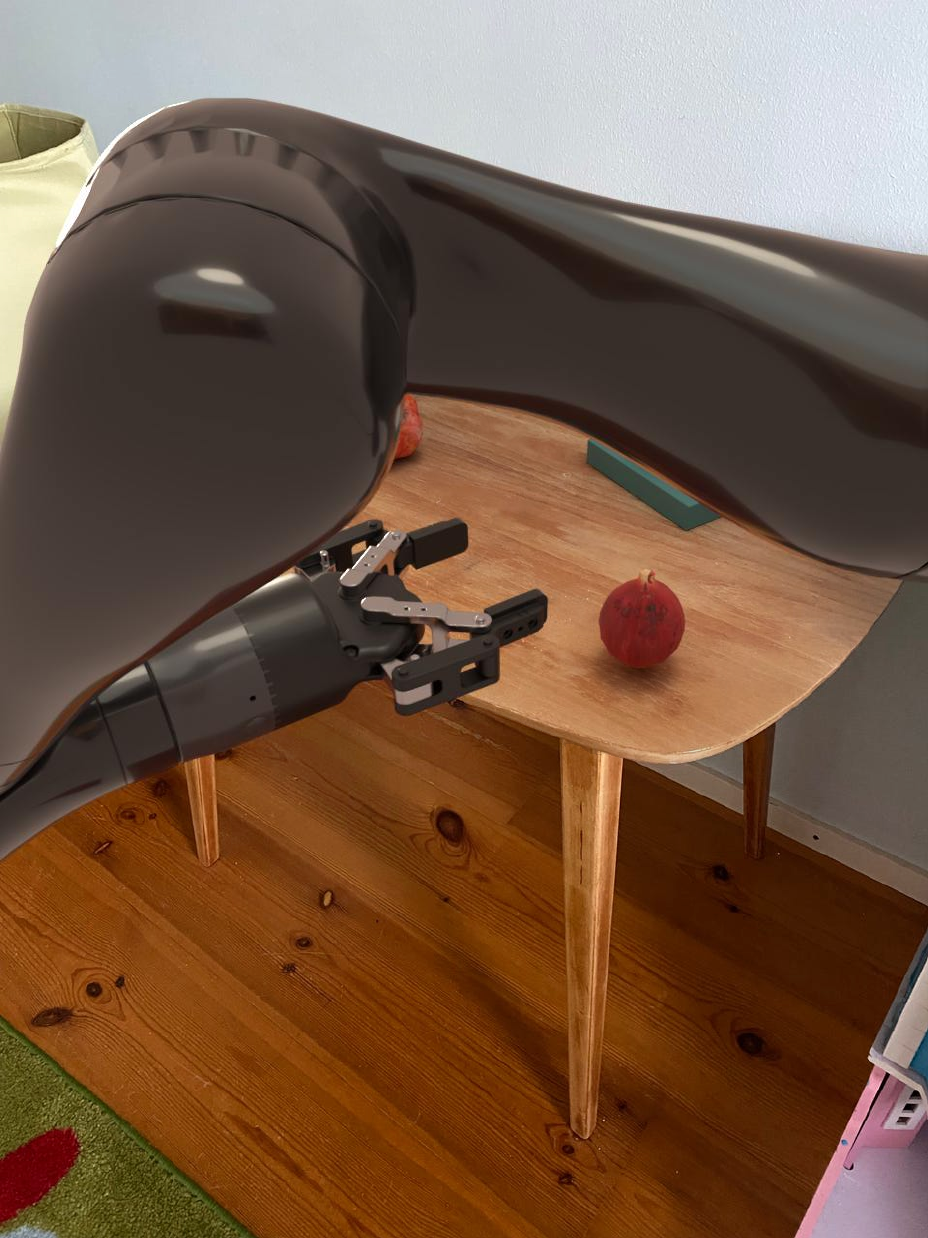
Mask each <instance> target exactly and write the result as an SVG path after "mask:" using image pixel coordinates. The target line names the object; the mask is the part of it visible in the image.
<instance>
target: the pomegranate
mask: <svg viewBox="0 0 928 1238" xmlns="http://www.w3.org/2000/svg"><path fill="white" fill-rule="evenodd" d="M423 422H424V421H423V419H422V418H421V416H420V414H419V406H418V402H417V401H416V399H415V397H414V395H411V394H406V399H405V409H404V415H403V421H402V426H401V431H400V437H399V441H398V446H397V450H396V454H395V457H394V460H395V459H402V458H406V457H409V456H410V455H412V454H413V453H414V452H415V451H416V448H418V446H419V445H420V444H421V442H422V440H423V436H424V428H423V427H424V425H423V424H424V423H423Z"/></svg>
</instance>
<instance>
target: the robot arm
mask: <svg viewBox="0 0 928 1238" xmlns="http://www.w3.org/2000/svg"><path fill="white" fill-rule="evenodd" d="M89 173H90V174H89V175H88V177H87V179H86V182H85V183H84V185H83V187H82V189H81V191H80V193H79V195H78V197H77V198H76V200H75V201H74V204H73V206H72V209H71V211H70V213H69V214H68V215H69V216H67V219H66V221H65V223H64V225H63V228H62V229H61V232H60V234H59V236H58V239H57V241H56V243H55V245H54V247H53V249H52V251H51V252H50V253H51V254H50V256H49V257H48V260H47V262H46V264H45V267H44V268H43V270H42V272H41V275H40V277H39V279H38V282H37V284H36V287H35V290H34V292H33V295H32V297H31V300H30V304H29V307H28V309H27V312H26V316H25V320H24V326H23V335H22V347H21V352H20V353H21V354H20V357H19V358H20V359H19V365H18V371H17V376H16V380H15V386H14V390H13V394H12V398H11V402H10V406H9V411H8V415H7V419H6V423H5V427H4V431H3V435H2V441H1V445H0V865H1V864H3V863H4V862H5V861H6V860H8V859H9V858H10V857H12V856H13V855H15V854H16V853H17V852H18V851H20V850H21V849H22V848H24V847H25V846H27V845H28V844H30V842H32V841H33V840H35V839H36V838H37V837H39V836H40V835H42V834H43V833H45V832H46V831H48V830H50V829H51V828H52V827H54V826H55V825H57V824H58V823H60V822H61V821H63V820H65V819H66V818H68V817H70V816H72V815H73V814H74V813H76V812H78V811H80V810H81V809H83V808H84V807H86V806H88V805H90V804H91V803H93V802H95V801H97V800H99V799H101V798H103V797H106V796H107V795H110V794H112V793H114V792H116V791H120V790H122V789H124V788H126V787H127V786H131V785H134V784H136V783H139V782H141V781H143V780H146V779H148V778H150V777H153V776H156V775H158V774H160V773H163V772H165V771H168V770H170V769H173V768H175V767H177V766H179V764H185V763H189V762H190V761H193V760H194V761H195V760H197V759H201V758H205V757H209V756H213V755H216V754H219V753H223V752H226V751H229V750H231V749H234V748H237V747H239V746H241V745H244V744H246V743H248V742H251V741H253V740H256V739H258V738H260V737H262V736H265V735H268V734H271V733H273V732H275V731H278V730H280V729H283V728H285V727H287V726H290V725H292V724H295V723H297V722H300V721H302V720H304V719H307V718H310V717H312V716H314V715H316V714H319V713H321V712H324V711H326V710H329V709H331V708H333V707H336V706H338V705H340V704H342V703H343V702H344V701H345V700H346V699H347V697H348V696H349V694H350V693H351V692H352V691H353V689H354V688H355V687H357V686H358V685H360V684H361V683H362V684H363V683H365V682H371V681H383V682H384V683H385V684H386V686H387V687H388V689H389V690H390V692H391V693H392V695H393V704H394V711H395V713H396V714H398V715H400V716H403V717H409V716H413V715H415V714H418V713H421V712H423V711H426V710H428V709H431V708H434V707H436V706H440V705H442V704H444V703H448V702H449V701H453V700H455V699H458V698H460V697H461V698H462V697H463V696H466V695H469V694H471V693H474V692H476V691H480V690H482V689H485V688H487V687H490V686H492V685H495V684H497V683H498V682H499V681H500V679H501V670H500V669H501V653H500V652H501V651H500V650H501V648H503V647H505V646H508V645H510V644H512V643H514V642H518V641H520V640H522V639H524V638H526V637H527V638H528V637H529V636H532V635H534V634H536V633H539V632H540V631H541V630H542V629H543V628H544V625H545V624H546V623H547V620H548V610H549V609H548V608H549V598H548V596H547V595H546V594H545V593H544V592H542V590H541V589H539V588H533V589H530V590H528V591H526V592H525V591H524V592H522V593H520V594H518V595H515V596H512V597H510V598H508V599H504V600H503V601H500V602H497V603H495V604H492V605H490V606H487V607H484V608H483V612H482V611H481V612H480V611H462V610H461V611H460V610H459V611H458V610H457V611H456V610H451V609H449V607H448V606H447V605H446V604H444V603H441V602H425V601H423V600H422V599H421V598H420V597H419V596H418V595H417V594H415V593H413V592H412V591H410V590H409V589H407V588H406V585H405V583H404V581H403V580H402V579H403V578H404V576H405V575H406V574H407V572H409V569H410V567H409V566H412V568H413V569H414V570H415V571H417V570H420V569H422V568H423V569H424V568H425V567H426V568H427V567H429V566H431V565H434V564H436V563H439V562H442V561H445V560H447V559H450V558H452V557H456V556H458V555H461V554H463V553H464V552H466V551H467V550H468V548H469V527H468V526H469V525H468V524H467V523H466V522H465V521H463V519H461V518H460V517H454V518H451V519H448V520H441V521H438V522H434V523H433V524H429V525H427V526H424V527H420V528H418V529H415V530H412V531H409V532H407V533H406V532H405V531H403V530H401V529H393V530H390V531H389V530H387V529H385V528H384V522H383V521H382V520H380V519H377V518H374V519H373V518H372V519H368V520H365V521H363V522H360V523H357V524H355V525H351V526H350V527H347V526H349V525H350V523H352V522H353V521H354V520H355V519H356V518H357V517H358V516H359V515H360V514H361V513H362V512H363V511H364V510H365V509H366V508H367V507H368V505H369V504H370V503H371V502H372V500H373V499H374V497H375V496H376V495H377V493H378V491H379V489H380V488H381V486H382V485H383V482H384V481H385V479H386V477H387V475H388V474H389V472H390V470H391V468H392V465H393V463H394V460H395V459H394V457H395V454H396V450H397V446H398V441H399V437H400V431H401V426H402V421H403V415H404V409H405V399H406V394H411V395H413V396H420V397H429V398H435V399H442V400H448V401H454V402H459V403H465V404H472V405H476V406H477V405H478V406H484V407H488V408H489V407H490V408H495V409H500V410H504V411H509V412H513V413H517V414H522V415H526V416H528V417H529V416H530V417H533V418H536V419H539V420H542V421H545V422H549V423H552V424H554V425H557V426H560V427H564V428H565V429H568V430H571V431H573V432H576V433H577V434H580V435H581V436H584V437H585V438H588V439H592V440H594V441H597V442H598V443H600V444H602V445H604V446H605V447H607V448H609V449H610V450H612V451H614V452H616V453H617V454H619V455H621V456H623V457H624V458H626V459H628V460H630V461H631V462H633V463H635V464H636V465H638V466H640V467H641V468H643V469H644V470H646V471H648V472H649V473H651V474H653V475H654V476H656V477H657V478H659V479H661V480H662V481H664V482H666V483H667V484H669V485H670V486H672V487H674V488H675V489H677V490H679V491H680V492H682V493H684V494H685V495H687V496H689V497H690V498H692V499H694V500H695V501H697V502H699V503H700V504H702V505H703V506H705V507H707V508H708V509H710V510H711V511H713V512H715V513H716V514H718V515H720V516H721V517H720V518H723V519H724V520H726V521H728V522H729V523H731V524H733V525H735V526H737V527H739V528H740V529H742V530H744V531H746V532H747V533H749V534H750V535H753V536H755V537H756V538H758V539H760V540H762V541H764V542H766V543H768V544H770V545H772V546H774V547H776V548H778V549H780V550H783V551H784V552H787V553H789V554H792V555H794V556H797V557H799V558H802V559H804V560H807V561H810V562H813V563H815V564H819V565H822V566H825V567H827V568H831V569H835V570H837V571H838V570H839V571H842V572H846V573H852V574H857V575H861V576H862V575H863V576H867V577H874V578H881V579H891V580H898V581H905V582H914V583H921V584H928V254H919V253H912V252H906V251H905V252H904V251H897V250H892V249H886V248H880V247H875V246H874V247H873V246H869V245H865V244H864V245H863V244H859V243H853V242H848V241H843V240H837V239H832V238H827V237H822V236H817V235H811V234H808V233H807V234H806V233H802V232H796V231H793V230H792V231H791V230H786V229H782V228H777V227H773V226H767V225H763V224H762V225H761V224H756V223H752V222H745V221H739V220H734V219H729V218H725V217H717V216H712V215H706V214H701V213H700V214H699V213H694V212H688V211H681V210H674V209H669V208H661V207H657V206H651V205H647V204H641V203H635V202H631V201H625V200H621V199H618V198H612V197H608V196H605V195H601V194H596V193H593V192H592V193H591V192H588V191H583V190H579V189H576V188H572V187H569V186H566V185H561V184H557V183H555V182H551V181H547V180H545V179H540V178H537V177H533V176H530V175H528V174H523V173H521V172H517V171H514V170H511V169H507V168H503V167H501V166H498V165H494V164H491V163H488V162H484V161H481V160H478V159H474V158H471V157H468V156H464V155H461V154H458V153H455V152H451V151H448V150H444V149H442V148H438V147H435V146H431V145H429V144H426V143H423V142H418V141H415V140H412V139H409V138H406V137H403V136H400V135H397V134H393V133H390V132H387V131H384V130H380V129H377V128H373V127H371V126H367V125H364V124H361V123H357V122H353V121H350V120H347V119H343V118H340V117H338V116H337V117H336V116H333V115H330V114H327V113H323V112H319V111H316V110H311V109H308V108H304V107H299V106H295V105H291V104H287V103H281V102H277V101H271V100H266V99H259V98H258V99H257V98H249V97H203V98H199V99H198V98H197V99H193V100H189V101H185V102H180V103H177V104H172V105H169V106H165V107H163V108H161V109H159V110H157V111H155V112H153V113H151V114H148V115H147V116H145V117H142V118H141V119H139V120H137V121H136V122H134V123H133V124H131V125H130V126H129V127H127V128H126V129H125V130H124V131H123V132H122V133H120V134H119V135H117V136H116V138H115V139H114V140H113V141H112V142H111V143H110V145H108V147H107V148H106V149H105V150H104V152H103V153H102V154H101V156H99V158H98V160H97V161H96V163H95V164H94V166H93V168H92V170H91V172H89ZM346 527H347V528H346ZM363 542H364V543H365V549H361V550H360V551H358V552H357V551H356V552H354V553H353V551H352V550H353V547H354V546H357V545H359V544H360V543H363ZM292 568H293V571H294V572H289V573H288V571H289V570H291V569H292ZM426 626H427V627H429V628H430V631H431V640H432V641H431V642H432V643H421V641H422V640H423V638H424V636H425V633H426ZM450 633H461V634H463V633H465V634H469V635H468V636H469V639H460V638H459V639H456V638H452V637H451V636H450ZM473 664H474V667H471V668H469V669H466V670H463V668H465V667H466V666H469V665H473ZM462 670H463V671H462Z"/></svg>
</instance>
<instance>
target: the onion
mask: <svg viewBox="0 0 928 1238" xmlns="http://www.w3.org/2000/svg"><path fill="white" fill-rule="evenodd" d="M655 576H656V572H655V571H654V570H652V569H651V568H648V567H645V568H644V569H643V570H640V571H639V572H638V576H637V578H634V579H630V580H627V581H625V582H624V583H621V584H620V585H619V586H616V587H615V588H614V589H613V590H612V591H611V592H610V593H609V594H608V595H607V598H606V599H605V601H604V602H603V605H602V607H601V609H600V611H599V616H598V625H599V634H600V640H601V641H602V643H603V645H604V647H605V648H606V650H607V651H608V653H609V654H610V656H612V657H613V658H615V659H616V660H617V661H619V662H620V663H622V664H623V665H625V666H628V667H632V668H639V669H641V668H642V669H643V668H645V669H647V668H650V667H652V666H656V665H658V664H662V663H664V662H665V661H666V660H667V659H668V658H669V657H670V656H671V655H672V654H673V653H674V652H675V651H677V649H679V647H680V644H681V642H682V639H683V637H684V633H685V631H686V617H685V616H686V615H685V612H684V610H683V609H684V608H683V606H682V603H681V601H680V599H679V597H678V596H677V595H676V593H675V592H674V591H673V590H672V589H671V588H670V586H669V585H667V584H665V583H664V582H662V581H660V580H658V579H656V578H655Z"/></svg>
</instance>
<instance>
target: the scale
mask: <svg viewBox="0 0 928 1238" xmlns="http://www.w3.org/2000/svg"><path fill="white" fill-rule="evenodd" d="M586 443H587V444H586V463H587V464H588V465H590V466H591V467H593V468H594V469H596V470H597V471H599V472H600V473H601V474H603V475H604V476H606V477H607V478H609V479H610V480H612V481H613V482H614V483H616V484H617V485H619V486H620V487H622V488H623V489H625V490H626V491H627V492H628V493H630V494H632V495H633V496H635V497H636V498H638V499H639V500H641V501H642V502H643V503H645V504H646V505H648V506H649V507H651V508H652V509H653V510H655V511H656V512H658V513H659V514H661V515H662V516H664V517H665V518H667V519H668V520H669V521H671V522H673V524H675V525H677V526H678V527H679V528H681V529H683V530H684V531H689V530H692V529H694V528H697V527H699V526H701V525H704V524H707V523H710V522H712V521H713V520H714V521H715V520H717V519H719V518H722V517H721V516H720V515H718V514H716V513H715V512H713V511H711V510H710V509H708V508H707V507H705V506H703V505H702V504H700V503H699V502H697V501H695V500H694V499H692V498H690V497H689V496H687V495H685V494H684V493H682V492H680V491H679V490H677V489H675V488H674V487H672V486H670V485H669V484H667V483H666V482H664V481H662V480H661V479H659V478H657V477H656V476H654V475H653V474H651V473H649V472H648V471H646V470H644V469H643V468H641V467H640V466H638V465H636V464H635V463H633V462H631V461H630V460H628V459H626V458H624V457H623V456H621V455H619V454H617V453H616V452H614V451H612V450H610V449H609V448H607V447H605V446H604V445H602V444H600V443H598V442H597V441H594V440H592V439H590V438H588V439H587V441H586Z"/></svg>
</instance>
